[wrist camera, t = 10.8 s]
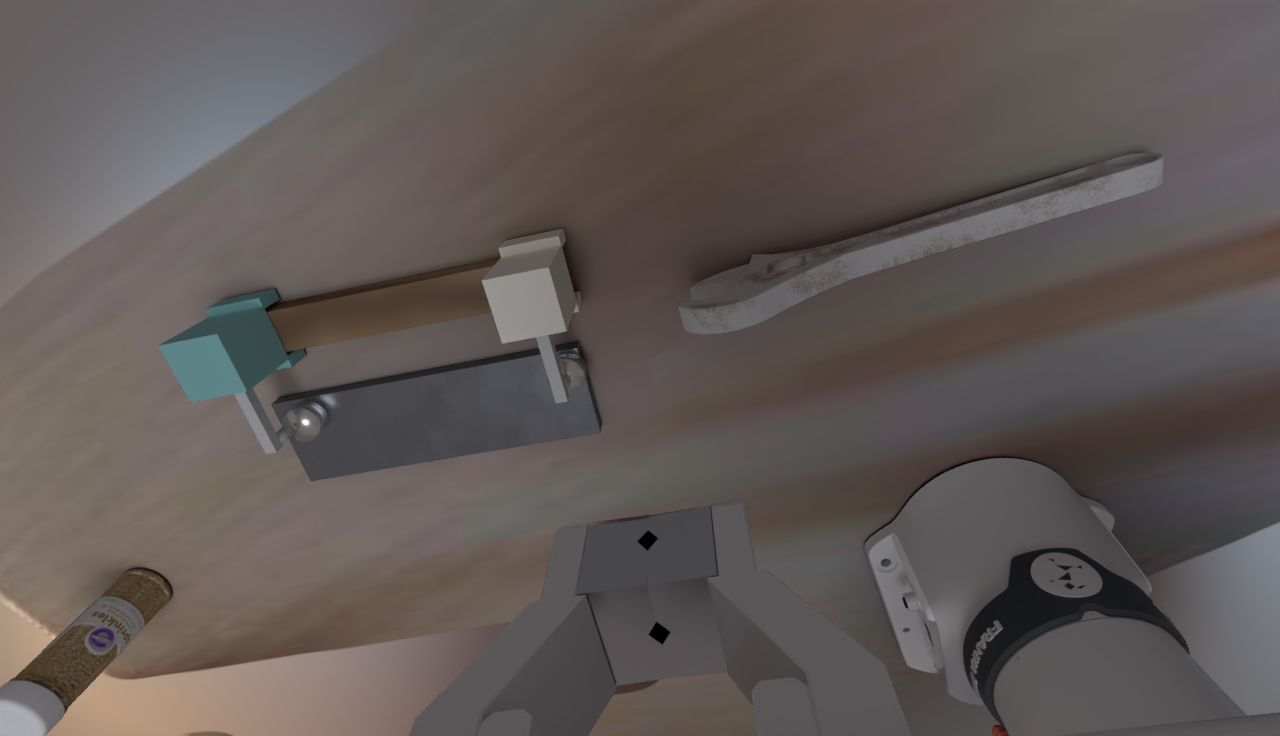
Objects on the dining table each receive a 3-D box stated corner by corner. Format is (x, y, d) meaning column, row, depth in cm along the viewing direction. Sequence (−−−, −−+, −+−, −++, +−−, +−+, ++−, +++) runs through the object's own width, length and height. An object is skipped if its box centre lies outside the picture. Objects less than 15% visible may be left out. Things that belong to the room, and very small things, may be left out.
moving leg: (332, 411, 49) (284, 462, 43) (284, 420, 49) (230, 471, 43) (274, 288, 45) (212, 324, 39) (223, 299, 45) (153, 336, 39)
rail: (564, 288, 44) (560, 298, 43) (255, 349, 47) (239, 360, 45) (553, 246, 43) (548, 254, 41) (236, 311, 46) (219, 321, 44)
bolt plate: (605, 423, 49) (602, 442, 46) (318, 472, 52) (301, 492, 49) (583, 340, 46) (578, 356, 44) (279, 396, 49) (259, 414, 46)
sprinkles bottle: (182, 585, 57) (53, 725, 45) (160, 612, 59) (30, 754, 47) (133, 557, 56) (-13, 693, 44) (112, 586, 58) (-34, 725, 46)
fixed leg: (598, 363, 47) (588, 409, 40) (545, 373, 47) (527, 420, 41) (563, 228, 42) (545, 256, 36) (505, 240, 43) (478, 270, 37)
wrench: (1104, 172, 43) (672, 303, 44) (1105, 145, 42) (666, 278, 43) (1213, 190, 36) (690, 346, 37) (1215, 156, 35) (682, 317, 36)
